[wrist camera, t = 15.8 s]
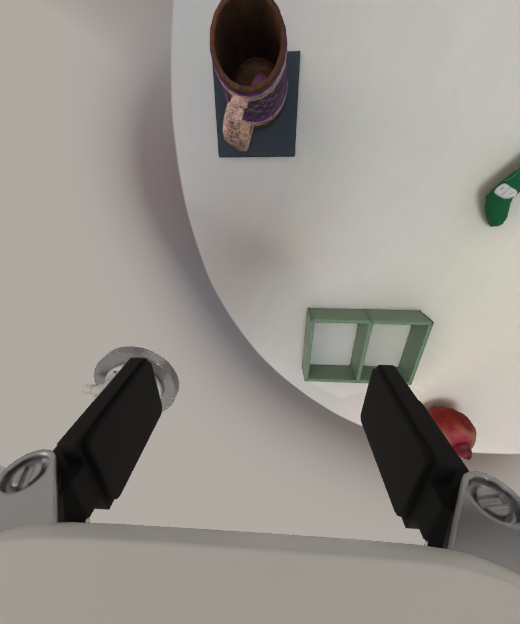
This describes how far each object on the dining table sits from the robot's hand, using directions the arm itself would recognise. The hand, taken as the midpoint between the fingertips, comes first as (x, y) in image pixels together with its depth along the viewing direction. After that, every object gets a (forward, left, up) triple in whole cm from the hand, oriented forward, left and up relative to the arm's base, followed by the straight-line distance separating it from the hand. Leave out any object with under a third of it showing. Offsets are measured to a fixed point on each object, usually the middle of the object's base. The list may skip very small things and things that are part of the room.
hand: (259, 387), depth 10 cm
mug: (-2, +16, -30) cm, 34 cm away
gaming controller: (+32, +8, -31) cm, 45 cm away
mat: (-2, +17, -30) cm, 35 cm away
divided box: (+16, -17, -30) cm, 38 cm away
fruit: (+35, -34, -31) cm, 58 cm away
